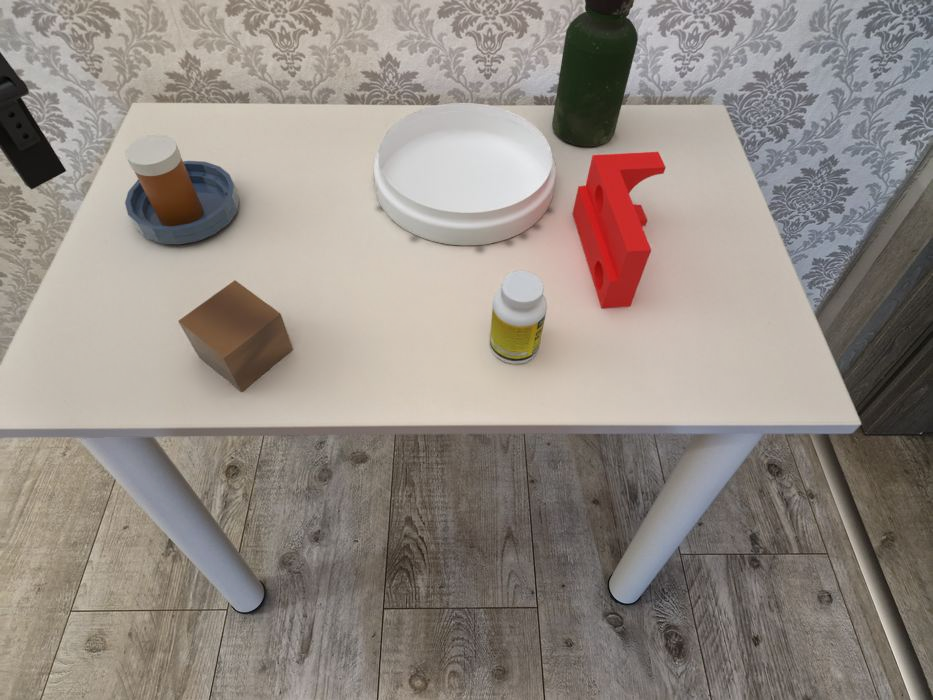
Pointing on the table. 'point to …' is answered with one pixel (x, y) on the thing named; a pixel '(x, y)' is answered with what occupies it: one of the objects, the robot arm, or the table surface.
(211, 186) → the bowl
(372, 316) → the table surface
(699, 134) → the table surface
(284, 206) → the table surface
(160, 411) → the table surface
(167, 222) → the vitamin bottle
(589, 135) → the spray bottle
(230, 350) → the riser
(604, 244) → the bracket
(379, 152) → the round white tray
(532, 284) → the pill bottle
